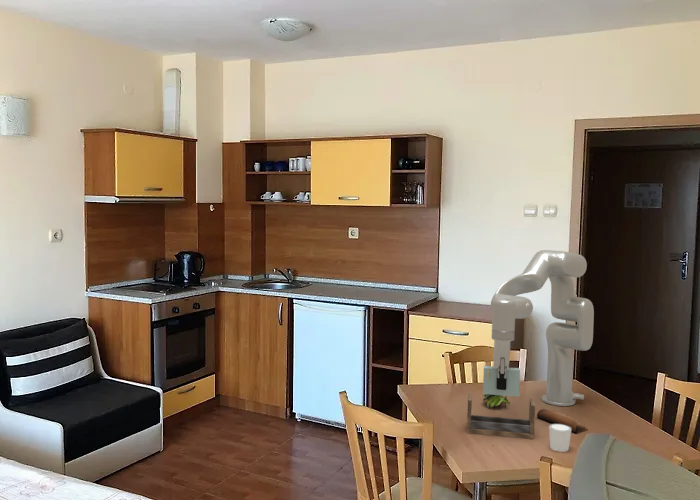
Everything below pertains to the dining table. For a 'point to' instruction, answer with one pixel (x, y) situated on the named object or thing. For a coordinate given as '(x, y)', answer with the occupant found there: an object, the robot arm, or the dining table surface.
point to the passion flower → (495, 400)
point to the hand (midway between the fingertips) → (501, 387)
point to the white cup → (559, 437)
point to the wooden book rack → (501, 424)
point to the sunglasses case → (561, 420)
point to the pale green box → (511, 382)
